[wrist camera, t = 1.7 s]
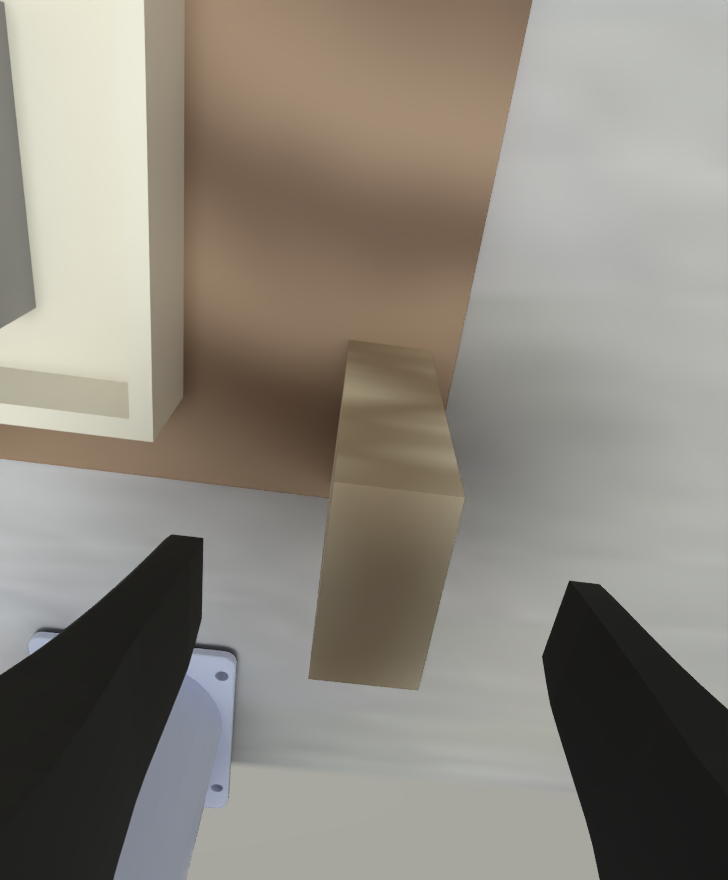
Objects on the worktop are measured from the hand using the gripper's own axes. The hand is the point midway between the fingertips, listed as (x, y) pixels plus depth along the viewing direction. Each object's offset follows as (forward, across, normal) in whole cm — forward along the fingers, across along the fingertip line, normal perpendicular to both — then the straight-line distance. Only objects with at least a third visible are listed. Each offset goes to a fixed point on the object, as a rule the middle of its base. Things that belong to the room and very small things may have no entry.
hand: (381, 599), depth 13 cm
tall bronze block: (+8, 0, 0) cm, 8 cm away
